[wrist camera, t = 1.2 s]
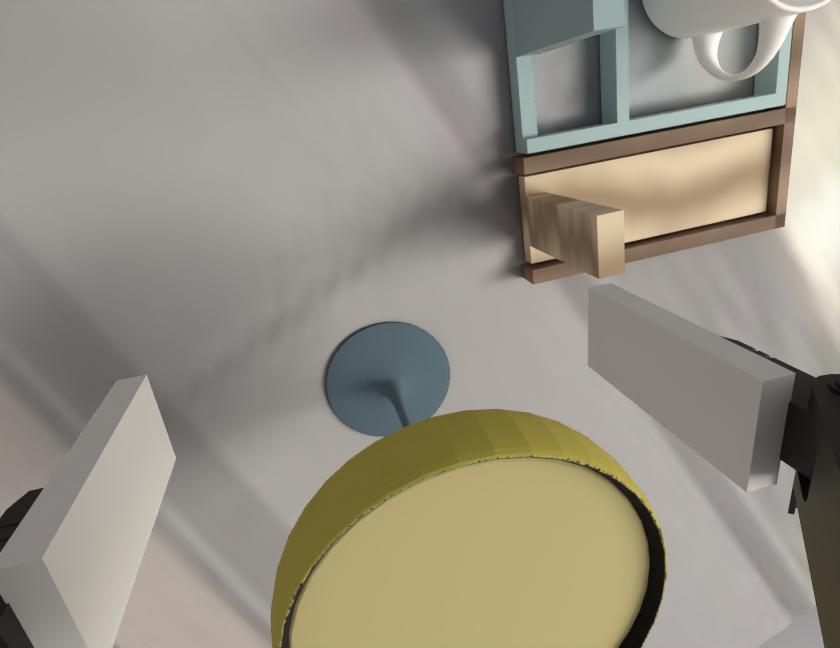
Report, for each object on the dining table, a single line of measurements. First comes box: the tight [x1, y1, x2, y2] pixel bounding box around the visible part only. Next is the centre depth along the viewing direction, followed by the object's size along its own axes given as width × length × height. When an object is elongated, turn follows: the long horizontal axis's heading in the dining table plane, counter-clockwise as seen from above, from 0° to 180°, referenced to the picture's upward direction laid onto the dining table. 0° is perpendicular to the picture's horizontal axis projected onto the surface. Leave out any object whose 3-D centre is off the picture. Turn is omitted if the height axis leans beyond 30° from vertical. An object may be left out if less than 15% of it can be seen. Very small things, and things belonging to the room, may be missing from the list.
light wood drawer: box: [518, 128, 773, 279], centre depth 39 cm, size 7×22×12 cm, turn 99°
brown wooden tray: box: [512, 12, 806, 284], centre depth 41 cm, size 29×24×2 cm
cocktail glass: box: [271, 322, 667, 648], centre depth 34 cm, size 18×18×25 cm
